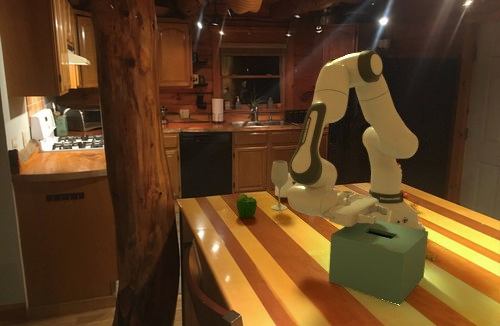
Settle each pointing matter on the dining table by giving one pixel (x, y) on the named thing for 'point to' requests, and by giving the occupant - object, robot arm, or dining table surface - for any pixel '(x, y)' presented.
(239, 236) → the dining table surface
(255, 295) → the dining table surface
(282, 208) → the wineglass
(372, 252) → the coin box
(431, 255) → the dice set
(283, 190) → the mug
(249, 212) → the bell pepper
